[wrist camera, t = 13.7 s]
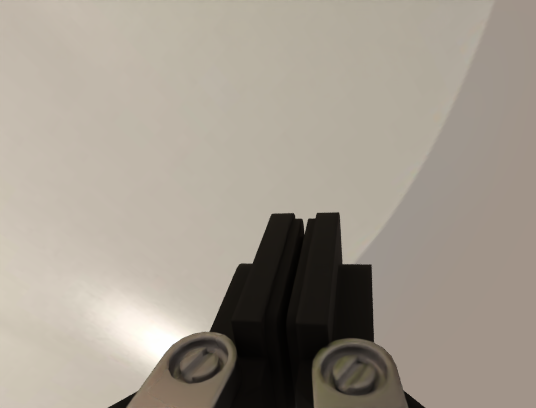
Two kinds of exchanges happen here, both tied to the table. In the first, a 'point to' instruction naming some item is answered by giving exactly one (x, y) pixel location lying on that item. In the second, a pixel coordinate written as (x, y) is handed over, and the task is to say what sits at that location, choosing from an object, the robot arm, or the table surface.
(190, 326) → the table surface
